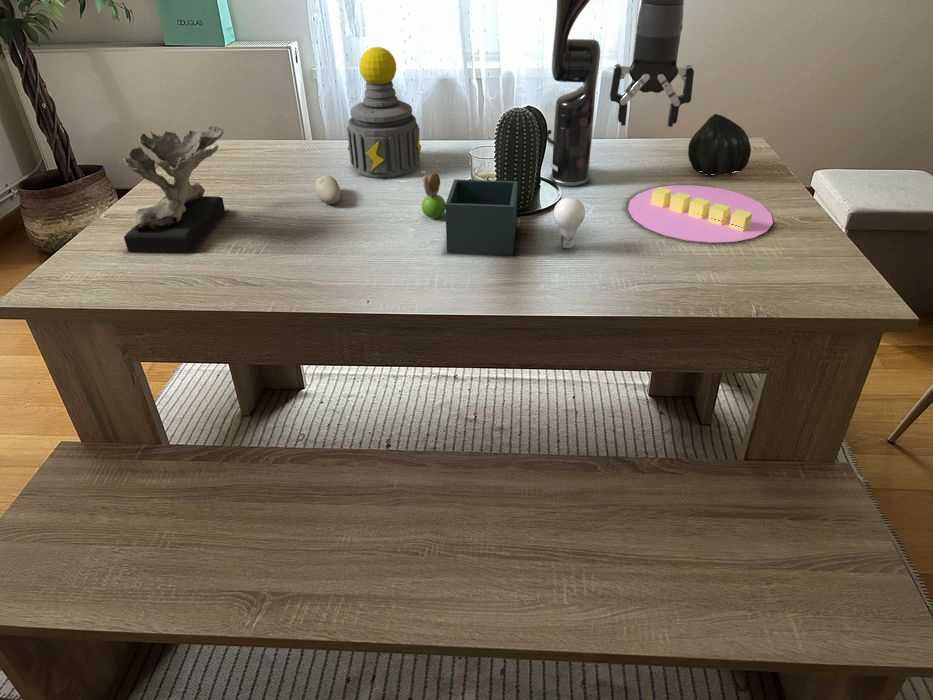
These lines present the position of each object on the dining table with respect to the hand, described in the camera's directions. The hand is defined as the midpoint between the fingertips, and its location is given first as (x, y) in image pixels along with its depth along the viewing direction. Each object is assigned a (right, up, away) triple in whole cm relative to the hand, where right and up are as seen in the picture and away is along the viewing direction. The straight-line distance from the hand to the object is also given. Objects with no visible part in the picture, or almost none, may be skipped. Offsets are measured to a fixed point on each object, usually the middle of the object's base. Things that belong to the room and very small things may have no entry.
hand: (646, 125), depth 130 cm
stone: (-67, -5, +40) cm, 78 cm away
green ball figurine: (-41, -12, +30) cm, 52 cm away
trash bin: (-30, -18, +20) cm, 40 cm away
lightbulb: (-12, -21, +17) cm, 29 cm away
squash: (+31, +4, +51) cm, 60 cm away
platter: (+20, -10, +31) cm, 38 cm away
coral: (-94, -15, +27) cm, 99 cm away
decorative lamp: (-55, +7, +58) cm, 80 cm away
